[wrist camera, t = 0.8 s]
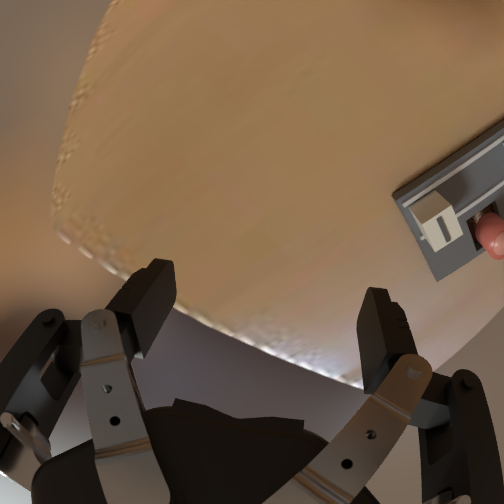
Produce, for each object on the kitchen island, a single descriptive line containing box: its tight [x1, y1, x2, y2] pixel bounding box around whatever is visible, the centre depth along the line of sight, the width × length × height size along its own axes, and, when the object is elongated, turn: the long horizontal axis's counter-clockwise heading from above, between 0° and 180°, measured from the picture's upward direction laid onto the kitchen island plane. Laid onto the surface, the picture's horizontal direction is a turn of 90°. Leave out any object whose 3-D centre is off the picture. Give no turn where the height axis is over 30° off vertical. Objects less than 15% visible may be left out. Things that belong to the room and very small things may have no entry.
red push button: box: [475, 212, 504, 260], centre depth 28 cm, size 5×5×4 cm
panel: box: [392, 120, 504, 282], centre depth 28 cm, size 22×14×7 cm, turn 130°
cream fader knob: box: [409, 190, 463, 252], centre depth 29 cm, size 4×4×5 cm
